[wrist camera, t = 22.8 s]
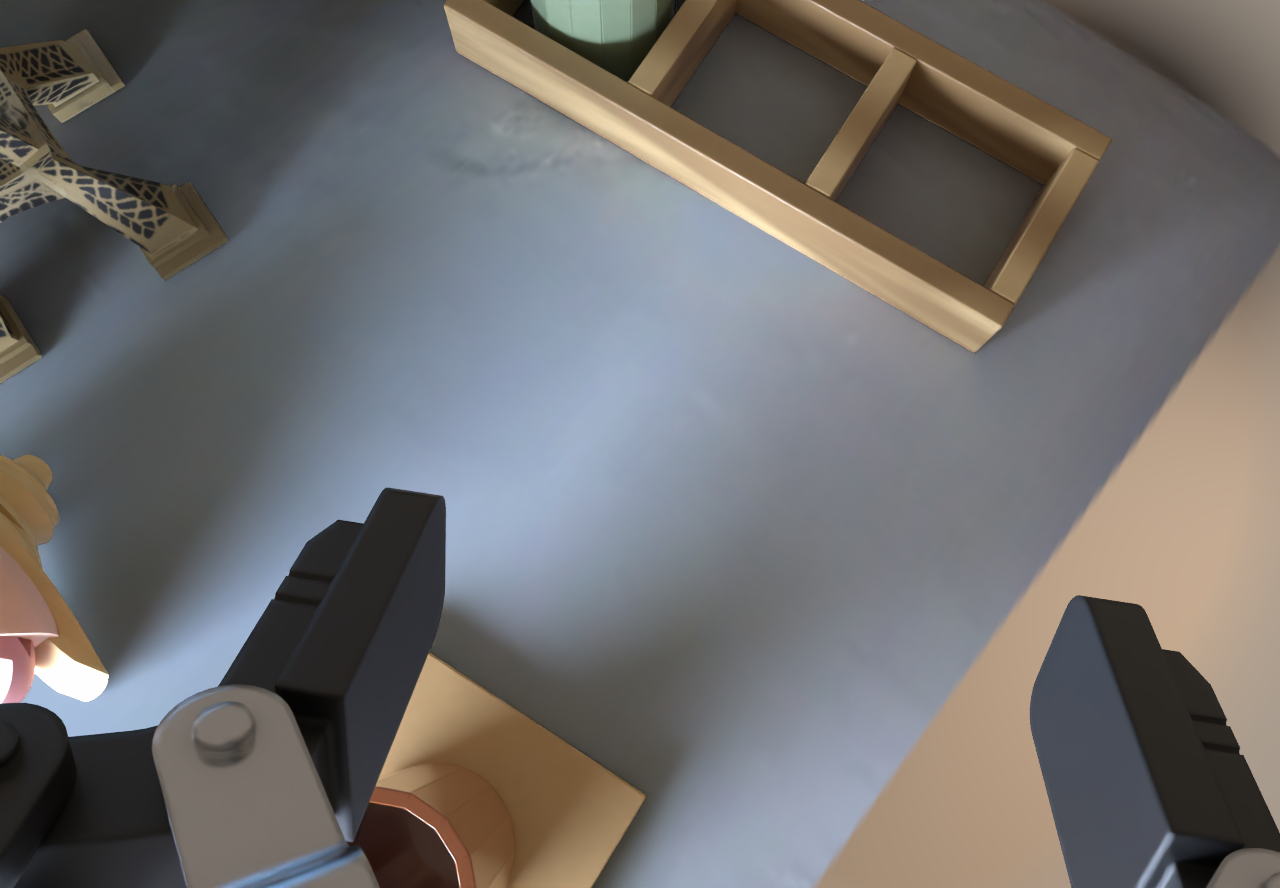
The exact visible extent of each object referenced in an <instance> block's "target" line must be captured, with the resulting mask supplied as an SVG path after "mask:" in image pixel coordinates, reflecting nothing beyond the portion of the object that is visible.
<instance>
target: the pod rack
mask: <svg viewBox="0 0 1280 888" xmlns="http://www.w3.org/2000/svg"><path fill="white" fill-rule="evenodd" d="M523 1H524V0H447V1H446V2H445V4H444V9H445V12H446V16H447V20H448V23H449V27H450V30H451V34H452V37H453V41H454V45H455V48H456V51H457V52H458V53H459V54H461V55H463V56H464V57H466V58H468V59H469V60H471V61H473V62H475V63H476V64H478V65H480V66H481V67H483V68H485V69H487V70H488V71H490V72H492V73H494V74H495V75H497V76H499V77H500V78H502V79H504V80H506V81H507V82H509V83H511V84H512V85H514V86H516V87H518V88H519V89H521V90H523V91H524V92H526V93H528V94H530V95H531V96H533V97H535V98H536V99H538V100H540V101H542V102H543V103H545V104H547V105H548V106H550V107H552V108H554V109H555V110H557V111H559V112H561V113H562V114H564V115H566V116H567V117H569V118H571V119H573V120H574V121H576V122H578V123H579V124H581V125H583V126H585V127H586V128H588V129H590V130H591V131H593V132H595V133H597V134H598V135H600V136H602V137H603V138H605V139H607V140H609V141H610V142H612V143H614V144H615V145H617V146H619V147H621V148H622V149H624V150H626V151H628V152H629V153H631V154H633V155H634V156H636V157H638V158H640V159H641V160H643V161H645V162H646V163H648V164H650V165H652V166H653V167H655V168H657V169H658V170H660V171H662V172H664V173H665V174H667V175H669V176H670V177H672V178H674V179H676V180H677V181H679V182H681V183H682V184H684V185H686V186H688V187H689V188H691V189H693V190H695V191H696V192H698V193H700V194H701V195H703V196H705V197H707V198H708V199H710V200H712V201H713V202H715V203H717V204H719V205H720V206H722V207H724V208H725V209H727V210H729V211H731V212H732V213H734V214H736V215H737V216H739V217H741V218H743V219H744V220H746V221H748V222H749V223H751V224H753V225H755V226H756V227H758V228H760V229H762V230H763V231H765V232H767V233H768V234H770V235H772V236H774V237H775V238H777V239H779V240H780V241H782V242H784V243H786V244H787V245H789V246H791V247H792V248H794V249H796V250H798V251H799V252H801V253H803V254H804V255H806V256H808V257H810V258H811V259H813V260H815V261H816V262H818V263H820V264H822V265H823V266H825V267H827V268H829V269H830V270H832V271H834V272H835V273H837V274H839V275H841V276H842V277H844V278H846V279H847V280H849V281H851V282H853V283H854V284H856V285H858V286H859V287H861V288H863V289H865V290H866V291H868V292H870V293H871V294H873V295H875V296H877V297H878V298H880V299H882V300H883V301H885V302H887V303H889V304H890V305H892V306H894V307H896V308H897V309H899V310H901V311H902V312H904V313H906V314H908V315H909V316H911V317H913V318H914V319H916V320H918V321H920V322H921V323H923V324H925V325H926V326H928V327H930V328H932V329H933V330H935V331H937V332H938V333H940V334H942V335H944V336H945V337H947V338H949V339H950V340H952V341H954V342H956V343H957V344H959V345H961V346H963V347H964V348H966V349H968V350H969V351H971V352H973V353H976V352H977V351H978V350H979V349H980V348H981V347H982V346H983V345H984V344H985V343H986V342H988V341H989V340H990V339H991V338H992V337H993V336H994V335H995V334H996V333H997V332H998V331H999V330H1000V329H1001V328H1002V327H1003V325H1004V324H1005V322H1006V320H1007V319H1008V317H1009V315H1010V313H1011V312H1012V310H1013V308H1014V305H1015V304H1016V303H1017V301H1018V300H1019V298H1020V296H1021V295H1022V293H1023V291H1024V289H1025V288H1026V286H1027V284H1028V283H1029V281H1030V279H1031V278H1032V276H1033V274H1034V272H1035V271H1036V269H1037V267H1038V266H1039V264H1040V262H1041V260H1042V259H1043V257H1044V255H1045V254H1046V252H1047V250H1048V248H1049V247H1050V245H1051V243H1052V242H1053V240H1054V238H1055V237H1056V235H1057V233H1058V231H1059V230H1060V228H1061V226H1062V225H1063V223H1064V221H1065V219H1066V218H1067V216H1068V214H1069V213H1070V211H1071V209H1072V207H1073V206H1074V204H1075V202H1076V201H1077V199H1078V197H1079V196H1080V194H1081V192H1082V190H1083V189H1084V187H1085V185H1086V184H1087V182H1088V180H1089V178H1090V177H1091V175H1092V173H1093V172H1094V170H1095V168H1096V166H1097V165H1098V162H1099V161H1100V160H1101V158H1102V156H1103V155H1104V153H1105V151H1106V150H1107V148H1108V146H1109V144H1110V143H1111V141H1112V139H1111V138H1110V137H1108V136H1106V135H1104V134H1102V133H1101V132H1099V131H1097V130H1095V129H1093V128H1092V127H1090V126H1088V125H1086V124H1084V123H1082V122H1081V121H1079V120H1077V119H1075V118H1073V117H1071V116H1070V115H1068V114H1066V113H1064V112H1062V111H1060V110H1059V109H1057V108H1055V107H1053V106H1051V105H1050V104H1048V103H1046V102H1044V101H1042V100H1040V99H1039V98H1037V97H1035V96H1033V95H1031V94H1029V93H1028V92H1026V91H1024V90H1022V89H1020V88H1018V87H1017V86H1015V85H1013V84H1011V83H1009V82H1008V81H1006V80H1004V79H1002V78H1000V77H998V76H997V75H995V74H993V73H991V72H989V71H987V70H986V69H984V68H982V67H980V66H978V65H976V64H975V63H973V62H971V61H969V60H967V59H966V58H964V57H962V56H960V55H958V54H956V53H955V52H953V51H951V50H949V49H947V48H945V47H944V46H942V45H940V44H938V43H936V42H934V41H933V40H931V39H929V38H927V37H925V36H923V35H922V34H920V33H918V32H916V31H914V30H913V29H911V28H909V27H907V26H905V25H903V24H902V23H900V22H898V21H896V20H894V19H892V18H891V17H889V16H887V15H885V14H883V13H881V12H880V11H878V10H876V9H874V8H872V7H871V6H869V5H867V4H865V3H863V2H861V1H860V0H685V2H684V3H683V5H682V6H681V8H680V9H679V10H678V12H677V13H676V15H675V16H674V18H673V19H672V20H671V22H670V23H669V25H668V26H667V27H666V29H665V30H664V32H663V33H662V35H661V36H660V37H659V39H658V40H657V42H656V43H655V44H654V46H653V47H652V49H651V50H650V52H649V53H648V54H647V56H646V57H645V59H644V60H643V61H642V63H641V64H640V66H639V67H638V69H637V70H636V71H635V73H634V74H633V76H632V77H631V79H630V80H629V82H628V83H627V82H625V81H624V80H622V79H620V78H618V77H617V76H615V75H613V74H611V73H610V72H608V71H606V70H604V69H603V68H601V67H599V66H598V65H596V64H594V63H592V62H591V61H589V60H587V59H585V58H584V57H582V56H580V55H578V54H577V53H575V52H573V51H571V50H570V49H568V48H566V47H564V46H563V45H561V44H559V43H557V42H556V41H554V40H552V39H550V38H549V37H547V36H545V35H543V34H542V33H540V32H538V31H536V30H535V29H533V28H531V27H530V26H528V25H526V24H524V23H523V22H521V21H519V20H517V19H516V18H514V17H512V16H513V15H514V13H515V12H516V11H517V9H518V8H519V7H520V5H521V4H522V3H523ZM735 13H737V14H739V15H740V16H742V17H744V18H746V19H747V20H749V21H751V22H753V23H755V24H756V25H758V26H760V27H762V28H764V29H765V30H767V31H769V32H771V33H773V34H774V35H776V36H778V37H780V38H782V39H783V40H785V41H787V42H789V43H791V44H792V45H794V46H796V47H798V48H800V49H801V50H803V51H805V52H807V53H808V54H810V55H812V56H814V57H816V58H817V59H819V60H821V61H823V62H825V63H826V64H828V65H830V66H832V67H834V68H835V69H837V70H839V71H841V72H843V73H844V74H846V75H848V76H850V77H852V78H853V79H855V80H857V81H859V82H861V83H862V84H864V85H866V86H868V87H867V89H866V90H865V92H864V93H863V95H862V96H861V98H860V100H859V101H858V103H857V104H856V106H855V107H854V109H853V110H852V112H851V113H850V115H849V117H848V118H847V120H846V121H845V123H844V124H843V126H842V127H841V129H840V130H839V132H838V133H837V135H836V137H835V138H834V140H833V141H832V143H831V144H830V146H829V147H828V149H827V150H826V152H825V154H824V155H823V157H822V158H821V160H820V161H819V163H818V164H817V166H816V167H815V169H814V170H813V172H812V174H811V175H810V177H809V178H808V180H807V181H806V183H805V184H803V183H802V182H800V181H798V180H796V179H795V178H793V177H791V176H789V175H788V174H786V173H784V172H782V171H781V170H779V169H777V168H775V167H774V166H772V165H770V164H768V163H767V162H765V161H763V160H761V159H760V158H758V157H756V156H754V155H753V154H751V153H749V152H747V151H746V150H744V149H742V148H740V147H739V146H737V145H735V144H734V143H732V142H730V141H728V140H727V139H725V138H723V137H721V136H720V135H718V134H716V133H714V132H713V131H711V130H709V129H707V128H706V127H704V126H702V125H700V124H699V123H697V122H695V121H693V120H692V119H690V118H688V117H686V116H685V115H683V114H681V113H679V112H678V111H676V110H674V109H672V108H671V106H672V104H673V103H674V102H675V100H676V99H677V97H678V96H679V94H680V93H681V91H682V90H683V89H684V87H685V86H686V84H687V83H688V81H689V80H690V78H691V77H692V75H693V74H694V73H695V71H696V70H697V68H698V67H699V65H700V64H701V62H702V61H703V60H704V58H705V57H706V55H707V54H708V52H709V51H710V49H711V48H712V47H713V45H714V44H715V42H716V41H717V39H718V38H719V36H720V35H721V34H722V32H723V31H724V29H725V28H726V26H727V25H728V23H729V22H730V21H731V19H732V18H733V16H734V15H735ZM897 104H900V105H902V106H904V107H905V108H907V109H909V110H911V111H913V112H914V113H916V114H918V115H920V116H922V117H923V118H925V119H927V120H929V121H930V122H932V123H934V124H936V125H938V126H939V127H941V128H943V129H945V130H947V131H948V132H950V133H952V134H954V135H956V136H957V137H959V138H961V139H963V140H965V141H966V142H968V143H970V144H972V145H974V146H975V147H977V148H979V149H981V150H983V151H984V152H986V153H988V154H990V155H991V156H993V157H995V158H997V159H999V160H1000V161H1002V162H1004V163H1006V164H1008V165H1009V166H1011V167H1013V168H1015V169H1017V170H1018V171H1020V172H1022V173H1024V174H1026V175H1027V176H1029V177H1031V178H1033V179H1035V180H1036V181H1038V182H1040V183H1042V184H1044V185H1043V187H1042V188H1041V190H1040V192H1039V194H1038V195H1037V197H1036V199H1035V200H1034V202H1033V204H1032V205H1031V207H1030V209H1029V210H1028V212H1027V214H1026V215H1025V217H1024V219H1023V220H1022V222H1021V224H1020V225H1019V227H1018V229H1017V231H1016V232H1015V234H1014V236H1013V237H1012V239H1011V241H1010V242H1009V244H1008V246H1007V247H1006V249H1005V251H1004V252H1003V254H1002V256H1001V257H1000V259H999V261H998V262H997V264H996V266H995V268H994V269H993V271H992V273H991V274H990V276H989V278H988V279H987V281H986V283H985V284H984V286H981V285H979V284H978V283H976V282H974V281H972V280H971V279H969V278H967V277H965V276H964V275H962V274H960V273H958V272H957V271H955V270H953V269H951V268H950V267H948V266H946V265H944V264H943V263H941V262H939V261H937V260H936V259H934V258H932V257H931V256H929V255H927V254H925V253H924V252H922V251H920V250H918V249H917V248H915V247H913V246H911V245H910V244H908V243H906V242H904V241H903V240H901V239H899V238H897V237H896V236H894V235H892V234H890V233H889V232H887V231H885V230H883V229H882V228H880V227H878V226H876V225H875V224H873V223H871V222H870V221H868V220H866V219H864V218H863V217H861V216H859V215H857V214H856V213H854V212H852V211H850V210H849V209H847V208H845V207H843V206H842V205H840V204H838V203H836V200H837V198H838V197H839V195H840V194H841V192H842V191H843V189H844V187H845V186H846V184H847V183H848V181H849V180H850V178H851V176H852V175H853V173H854V172H855V170H856V169H857V167H858V166H859V164H860V162H861V161H862V159H863V158H864V156H865V155H866V153H867V151H868V150H869V148H870V147H871V145H872V144H873V142H874V141H875V139H876V137H877V136H878V134H879V133H880V131H881V130H882V128H883V126H884V125H885V123H886V122H887V120H888V119H889V117H890V115H891V114H892V112H893V111H894V109H895V108H896V106H897Z"/></svg>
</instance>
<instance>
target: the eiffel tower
mask: <svg viewBox="0 0 1280 888" xmlns="http://www.w3.org/2000/svg"><path fill="white" fill-rule="evenodd" d="M124 86H125V85H124V83H123V82H122V80H121V79H120V77H119V76H118V74H117V73H116V71H115V70H114V68H113V67H112V65H111V64H110V62H109V61H108V59H107V58H106V56H105V55H104V53H103V52H102V50H101V49H100V47H99V46H98V44H97V43H96V41H95V40H94V38H93V37H92V36H91V34H90V33H89V32H88V30H87V29H85V30H83V31H82V32H80V33H78V34H76V35H75V36H73V37H71V38H70V39H68V40H66V41H62V40H56V41H48V42H41V43H33V44H25V45H17V46H11V47H5V48H0V223H1V222H3V221H4V220H5V219H6V218H8V217H10V216H12V215H14V214H16V213H19V212H21V211H24V210H27V209H30V208H34V207H36V206H39V205H42V204H45V203H48V202H51V201H55V200H59V199H63V198H67V199H69V200H70V201H72V202H73V203H75V204H76V205H78V206H79V207H81V208H82V209H84V210H85V211H87V212H88V213H90V214H91V215H93V216H94V217H96V218H97V219H99V220H100V221H102V222H103V223H105V224H106V225H108V226H109V227H111V228H113V229H114V230H116V231H117V232H119V233H120V234H122V235H123V236H125V237H126V238H128V239H129V240H131V241H132V242H134V243H135V244H137V245H138V246H139V247H140V248H141V250H142V252H143V253H144V255H145V256H146V258H147V259H148V261H149V262H150V264H151V265H152V266H153V267H154V268H155V269H156V270H157V272H158V273H159V275H160V276H161V278H162V279H163V280H165V281H166V280H167V279H169V278H171V277H172V276H174V275H175V274H177V273H179V272H180V271H182V270H183V269H185V268H187V267H188V266H190V265H191V264H193V263H195V262H196V261H198V260H199V259H201V258H203V257H204V256H206V255H207V254H209V253H211V252H212V251H214V250H215V249H217V248H219V247H220V246H222V245H223V244H225V243H227V242H228V241H229V239H228V238H227V236H226V235H225V233H224V232H223V230H222V229H221V227H220V226H219V224H218V223H217V221H216V220H215V218H214V217H213V215H212V214H211V213H210V211H209V210H208V208H207V207H206V205H205V204H204V202H203V201H202V199H201V198H200V196H199V195H198V193H197V192H196V190H195V189H194V187H193V186H192V184H191V183H190V182H189V181H188V182H186V183H185V184H183V185H181V186H180V187H178V186H177V185H176V184H173V185H171V186H170V187H169V186H168V185H166V184H162V183H157V182H152V181H148V180H143V179H138V178H134V177H129V176H124V175H120V174H115V173H110V172H105V171H101V170H96V169H91V168H87V167H82V166H79V165H77V164H76V163H74V162H73V161H72V159H71V158H70V157H69V156H68V154H67V153H66V152H65V150H64V149H63V148H62V146H61V145H60V144H59V142H58V141H57V140H56V138H55V137H54V136H53V134H52V133H51V131H50V130H49V129H48V127H47V126H46V124H45V123H44V121H43V120H42V119H41V117H40V116H39V114H38V112H37V111H36V109H35V107H34V106H35V105H44V104H47V106H48V107H49V109H50V110H51V112H52V114H53V115H54V116H55V117H56V118H57V119H58V120H59V121H60V122H61V123H63V122H65V121H67V120H69V119H70V118H72V117H74V116H75V115H77V114H79V113H80V112H82V111H84V110H85V109H87V108H89V107H90V106H92V105H94V104H95V103H97V102H99V101H101V100H102V99H104V98H106V97H107V96H109V95H111V94H112V93H114V92H116V91H117V90H119V89H121V88H122V87H124ZM41 358H42V355H41V353H40V352H39V350H38V349H37V347H36V345H35V344H34V342H33V340H32V339H31V337H30V336H29V334H28V332H27V331H26V329H25V327H24V326H23V324H22V323H21V321H20V319H19V318H18V316H17V314H16V313H15V311H14V310H13V308H12V306H11V305H10V303H9V302H8V300H7V299H6V298H5V297H3V296H2V295H0V384H1V383H2V382H4V381H6V380H7V379H9V378H10V377H12V376H14V375H15V374H17V373H18V372H20V371H22V370H23V369H25V368H26V367H28V366H30V365H31V364H33V363H34V362H36V361H38V360H39V359H41Z"/></svg>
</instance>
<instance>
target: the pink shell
mask: <svg viewBox="0 0 1280 888" xmlns="http://www.w3.org/2000/svg"><path fill="white" fill-rule="evenodd" d="M52 480H53V474H52V471H51V469H50V467H49V466H48V465H47V464H46V463H45V462H44V461H43V460H41V459H40V458H38V457H36V456H33V455H23V456H21V457H18V458H16V459H13V460H10V459H8V458H6V457H4V456H2V455H0V704H2V703H21V701H22V700H23V699H24V698H25V697H26V695H27V693H28V692H29V690H30V688H31V685H32V683H33V678H34V672H35V674H37V675H38V676H39V677H40V678H41V679H42V680H43V681H44V682H45V683H47V684H48V685H49V686H51V687H52V688H53V689H55V690H56V691H57V692H60V693H63V694H65V695H68V696H71V697H74V698H76V699H79V700H82V701H85V702H88V701H90V700H92V699H95V698H96V697H97V696H99V695H100V694H101V693H102V692H103V690H104V689H105V687H106V685H107V681H108V677H109V675H108V673H107V672H106V670H105V668H104V666H103V665H102V663H101V661H100V659H99V657H98V656H97V654H96V652H95V650H94V648H93V647H92V645H91V643H90V641H89V640H88V638H87V636H86V634H85V633H84V631H83V629H82V628H81V626H80V624H79V623H78V621H77V620H76V618H75V616H74V615H73V613H72V612H71V610H70V608H69V607H68V605H67V604H66V602H65V601H64V599H63V598H62V596H61V595H60V593H59V592H58V590H57V589H56V587H55V586H54V585H53V583H52V582H51V581H50V579H49V578H48V577H47V575H46V574H45V572H44V571H43V568H42V564H41V560H40V556H39V552H38V548H37V545H41V544H45V543H47V542H49V541H50V540H51V538H52V536H53V532H54V527H56V526H57V524H58V522H59V513H58V509H57V507H56V505H55V503H54V501H53V499H52V498H51V496H50V495H49V494H48V492H47V490H48V488H49V486H50V484H51V482H52Z"/></svg>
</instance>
